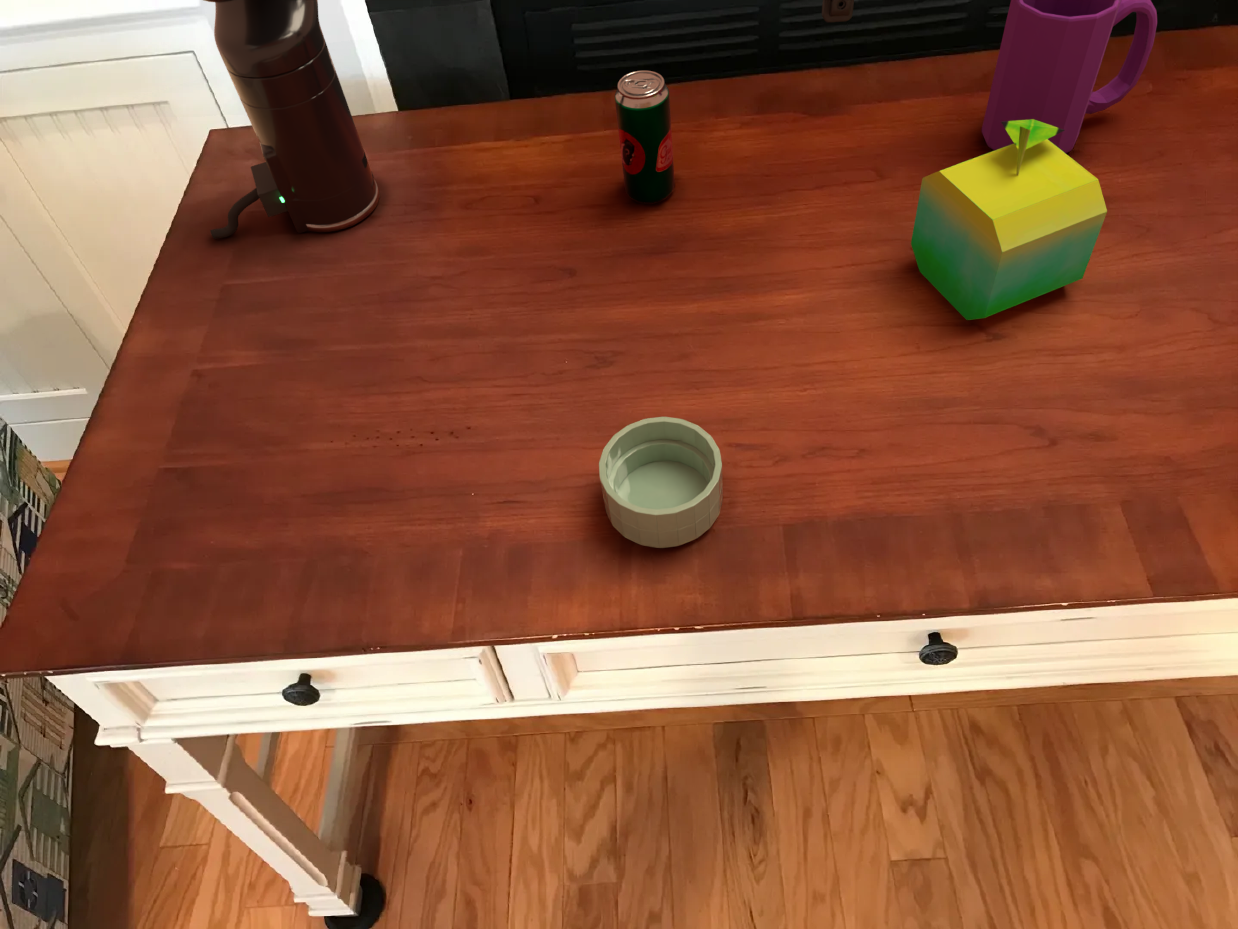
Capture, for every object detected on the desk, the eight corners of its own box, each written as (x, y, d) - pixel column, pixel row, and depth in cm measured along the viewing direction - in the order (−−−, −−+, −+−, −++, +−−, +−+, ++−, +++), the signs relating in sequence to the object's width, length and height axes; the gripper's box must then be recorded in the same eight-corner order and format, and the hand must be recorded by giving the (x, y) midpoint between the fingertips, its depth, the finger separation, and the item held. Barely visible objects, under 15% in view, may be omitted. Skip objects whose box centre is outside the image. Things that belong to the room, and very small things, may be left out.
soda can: (670, 207, 98) (663, 99, 88) (621, 205, 98) (608, 98, 89) (678, 176, 100) (672, 68, 91) (630, 174, 101) (618, 67, 92)
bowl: (632, 569, 73) (626, 532, 69) (589, 480, 78) (581, 441, 74) (742, 525, 74) (742, 487, 70) (693, 441, 79) (690, 401, 75)
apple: (1076, 294, 85) (1131, 145, 73) (979, 333, 83) (1020, 188, 72) (999, 224, 91) (1038, 76, 80) (907, 259, 90) (933, 114, 78)
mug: (963, 124, 101) (993, -20, 89) (1098, 87, 103) (1146, -60, 91) (1010, 175, 96) (1049, 28, 84) (1153, 135, 97) (1211, -15, 85)
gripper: (773, -263, 71) (761, -26, 83) (815, -229, 61) (794, 37, 72) (875, -270, 72) (849, -32, 83) (934, -237, 61) (895, 30, 73)
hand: (824, 0), depth 78 cm, fingers open, 8 cm apart
